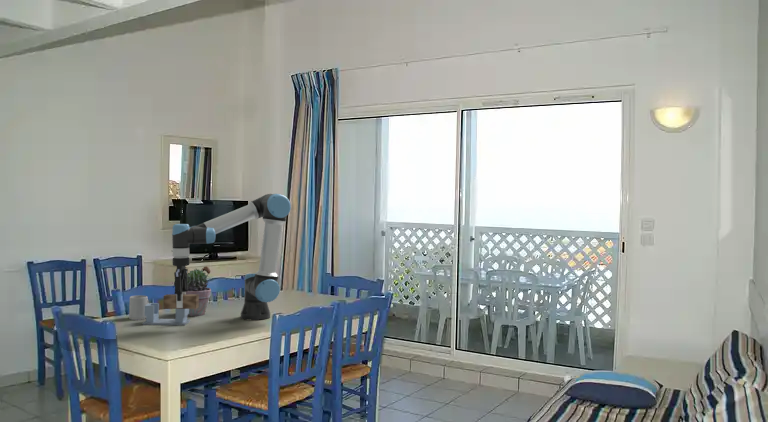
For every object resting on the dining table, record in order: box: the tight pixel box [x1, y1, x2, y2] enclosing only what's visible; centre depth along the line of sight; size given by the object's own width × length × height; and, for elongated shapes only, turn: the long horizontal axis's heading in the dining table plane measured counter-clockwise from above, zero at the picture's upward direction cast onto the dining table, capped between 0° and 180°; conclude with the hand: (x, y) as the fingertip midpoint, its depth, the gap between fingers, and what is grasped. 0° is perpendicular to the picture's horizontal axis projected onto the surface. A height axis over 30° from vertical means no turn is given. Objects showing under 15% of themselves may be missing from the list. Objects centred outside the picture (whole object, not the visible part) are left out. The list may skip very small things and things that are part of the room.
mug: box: [128, 294, 150, 321], centre depth 315 cm, size 12×8×11 cm
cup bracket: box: [142, 302, 191, 326], centre depth 304 cm, size 20×10×9 cm, turn 92°
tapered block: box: [163, 293, 199, 310], centre depth 291 cm, size 15×4×6 cm, turn 92°
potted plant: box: [186, 265, 212, 317], centre depth 327 cm, size 18×20×25 cm
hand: (181, 306), depth 291 cm, fingers closed on tapered block, 4 cm apart
